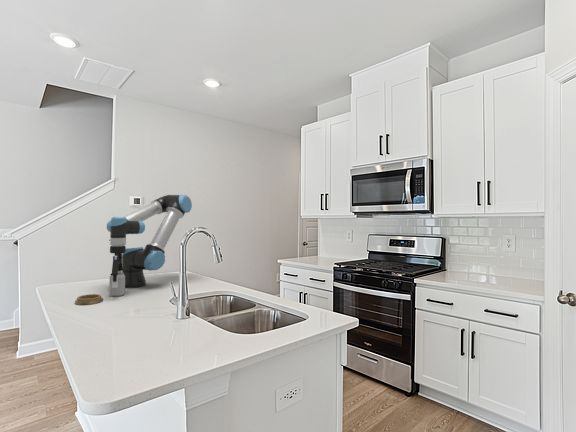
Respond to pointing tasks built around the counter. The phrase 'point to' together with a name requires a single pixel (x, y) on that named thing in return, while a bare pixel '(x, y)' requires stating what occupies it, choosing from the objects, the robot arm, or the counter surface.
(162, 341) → the counter surface
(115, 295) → the can
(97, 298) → the seat
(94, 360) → the counter surface
